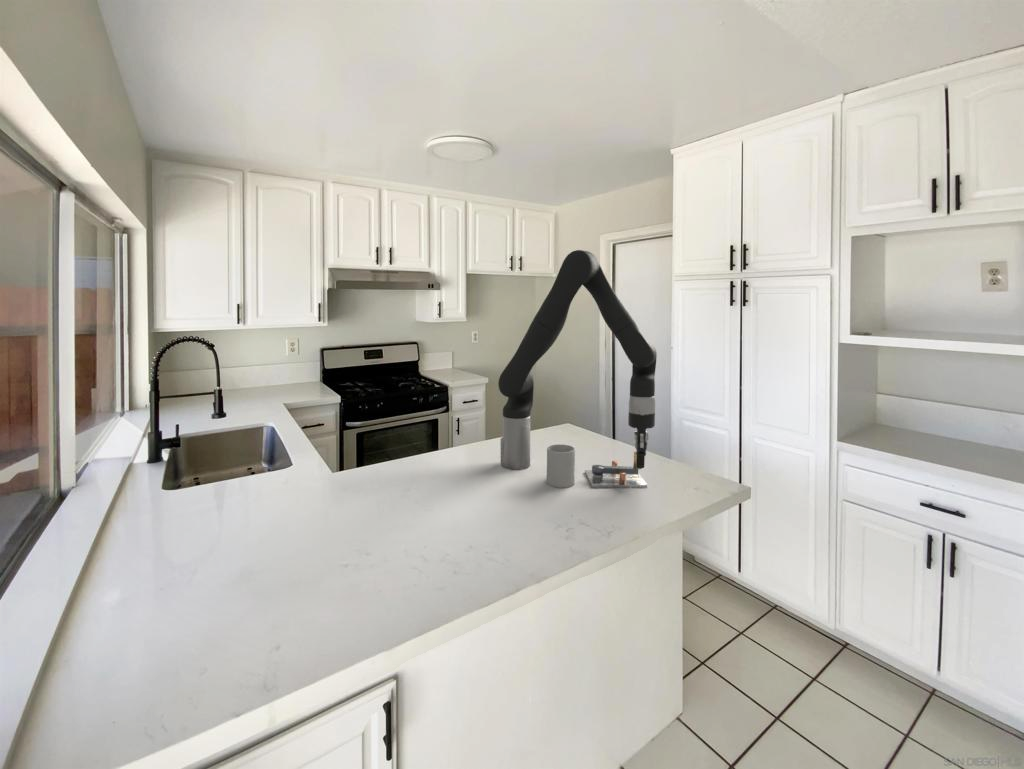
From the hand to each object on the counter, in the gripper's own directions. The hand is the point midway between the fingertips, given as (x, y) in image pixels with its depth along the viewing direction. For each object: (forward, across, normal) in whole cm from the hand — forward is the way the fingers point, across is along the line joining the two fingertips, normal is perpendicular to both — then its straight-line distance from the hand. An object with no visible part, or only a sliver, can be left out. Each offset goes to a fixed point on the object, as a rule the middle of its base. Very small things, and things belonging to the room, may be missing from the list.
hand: (640, 467), depth 145 cm
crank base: (+5, -3, -7) cm, 10 cm away
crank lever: (+3, -3, -7) cm, 8 cm away
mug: (+6, +1, -24) cm, 25 cm away
